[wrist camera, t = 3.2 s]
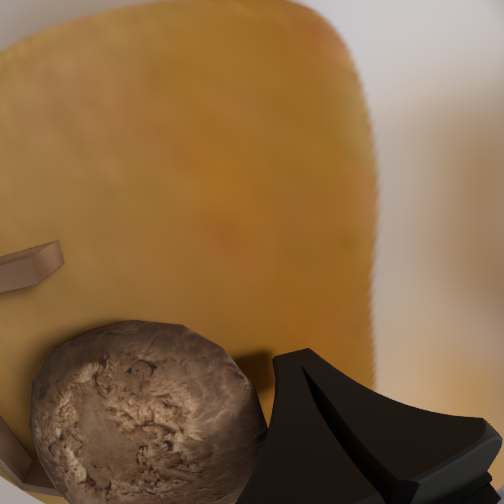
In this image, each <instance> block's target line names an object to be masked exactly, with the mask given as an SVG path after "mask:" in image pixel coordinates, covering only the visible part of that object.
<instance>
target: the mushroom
mask: <svg viewBox="0 0 504 504" xmlns="http://www.w3.org/2000/svg"><path fill="white" fill-rule="evenodd" d="M29 426H30V430H31V434H32V438H33V442H34V445H35V449H36V452H37V456H38V459H39V461H40V463H41V465H42V466H43V468H44V470H45V472H46V474H47V475H48V477H49V479H50V480H51V482H52V484H53V485H54V487H55V489H56V490H57V491H58V492H59V493H60V494H61V495H62V496H63V497H64V498H65V499H66V500H67V501H68V502H69V503H70V504H234V503H235V502H236V501H237V499H238V497H239V496H240V494H241V493H242V491H243V489H244V488H245V486H246V484H247V482H248V480H249V478H250V476H251V474H252V472H253V470H254V467H255V465H256V463H257V461H258V458H259V456H260V453H261V450H262V448H263V445H264V442H265V439H266V436H267V432H268V427H267V424H266V421H265V418H264V415H263V412H262V408H261V405H260V402H259V399H258V395H257V392H256V389H255V386H254V385H253V384H252V383H251V381H250V380H249V379H248V378H247V377H246V375H245V374H244V373H243V372H242V371H241V369H240V368H239V367H238V366H237V365H236V363H235V362H234V361H233V360H232V358H231V357H230V356H229V355H228V353H227V352H226V351H225V350H224V348H222V347H220V346H218V345H217V344H215V343H213V342H211V341H209V340H208V339H206V338H204V337H202V336H201V335H199V334H197V333H195V332H194V331H192V330H190V329H189V328H187V327H185V326H183V325H179V324H168V323H158V322H149V321H140V320H131V321H126V322H122V323H118V324H114V325H109V326H105V327H100V328H96V329H93V330H91V331H89V332H87V333H85V334H82V335H80V336H78V337H76V338H74V339H72V340H69V341H67V342H65V343H63V344H61V345H59V346H56V347H55V348H54V349H53V351H52V352H51V353H50V355H49V357H48V358H47V360H46V361H45V363H44V365H43V366H42V368H41V370H40V371H39V373H38V375H37V376H36V378H35V380H34V381H33V384H32V394H31V406H30V422H29Z"/></svg>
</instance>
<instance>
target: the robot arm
mask: <svg viewBox="0 0 504 504" xmlns="http://www.w3.org/2000/svg"><path fill="white" fill-rule="evenodd" d="M272 362H273V368H274V374H275V396H274V403H273V409H272V415H271V420H270V424H269V428H268V432H267V436H266V439H265V442H264V445H263V448H262V450H261V453H260V456H259V458H258V461H257V463H256V465H255V467H254V470H253V472H252V474H251V476H250V478H249V480H248V482H247V484H246V486H245V488H244V489H243V491H242V493H241V494H240V496H239V497H238V499H237V501H236V502H235V504H504V486H503V487H501V488H500V489H499V490H497V491H495V489H494V488H493V487H492V486H491V484H490V482H491V481H492V476H491V475H490V474H489V473H488V472H487V470H488V469H489V467H490V466H491V464H492V462H493V461H494V459H495V458H496V456H497V454H498V452H499V450H500V448H501V445H502V440H503V439H502V437H501V436H500V435H499V433H498V432H497V431H496V430H495V429H494V428H493V427H492V426H491V425H490V424H489V423H488V422H487V421H486V420H484V419H483V418H475V417H463V416H452V415H447V414H441V413H436V412H431V411H427V410H423V409H419V408H416V407H412V406H409V405H406V404H403V403H400V402H397V401H395V400H392V399H390V398H387V397H385V396H383V395H380V394H378V393H376V392H374V391H372V390H370V389H368V388H366V387H365V386H363V385H361V384H359V383H358V382H356V381H354V380H353V379H351V378H350V377H348V376H347V375H345V374H343V373H342V372H340V371H339V370H338V369H336V368H335V367H333V366H332V365H331V364H329V363H328V362H327V361H325V360H324V359H323V358H321V357H320V356H319V355H318V354H316V353H315V352H314V351H313V350H311V349H310V348H306V349H302V350H298V351H294V352H290V353H286V354H282V355H278V356H275V357H274V358H273V359H272Z"/></svg>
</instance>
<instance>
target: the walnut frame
mask: <svg viewBox="0 0 504 504" xmlns="http://www.w3.org/2000/svg"><path fill="white" fill-rule="evenodd" d="M63 264H64V260H63V256H62V253H61V249H60V246H59V242H58V241H55V242H51V243H47V244H44V245H40V246H36V247H33V248H29V249H26V250H22V251H19V252H15V253H12V254H9V255H5V256H2V257H0V293H1V292H5V291H9V290H14V289H18V288H23V287H27V286H32V285H36V284H39V283H41V282H42V281H43V280H44V279H45V278H47V277H48V276H49V275H50V274H52V273H53V272H54V271H55V270H57V269H58V268H59V267H60V266H62V265H63ZM0 467H1V468H2V469H3V470H4V472H5V473H6V474H7V475H8V476H9V477H10V478H11V479H12V480H13V481H14V482H15V483H16V484H17V485H18V486H19V487H20V488H21V489H22V490H27V491H32V492H37V493H42V494H47V495H53V496H60V497H63V496H62V495H61V494H60V493H59V492H58V491H57V490H56V489H55V487H54V485H53V484H52V482H51V480H50V479H49V477H48V475H47V474H46V472H45V470H44V468H43V466H42V465H41V463H40V461H39V460H35V459H32V458H31V457H30V456H29V454H28V453H27V452H26V451H25V449H24V448H23V447H22V446H21V444H20V443H19V442H18V440H17V439H16V438H15V437H14V435H13V434H12V433H11V431H10V430H9V428H8V427H7V426H6V424H5V423H4V421H3V420H2V418H1V417H0Z"/></svg>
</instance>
